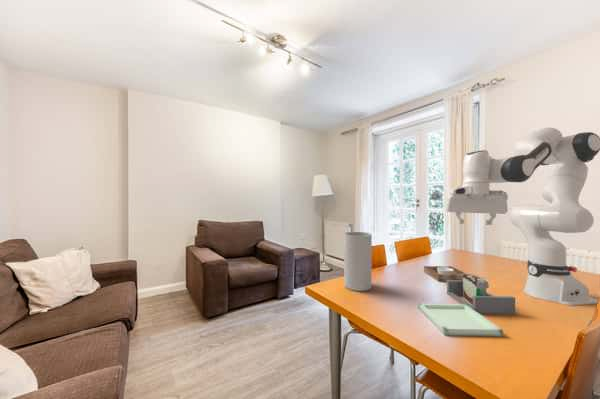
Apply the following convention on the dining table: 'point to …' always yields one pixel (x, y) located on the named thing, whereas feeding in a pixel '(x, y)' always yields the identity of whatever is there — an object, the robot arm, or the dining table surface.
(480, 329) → the tray
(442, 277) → the shallow brown square box
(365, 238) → the cylinder vase
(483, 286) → the food container
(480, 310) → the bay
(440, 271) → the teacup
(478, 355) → the dining table surface
